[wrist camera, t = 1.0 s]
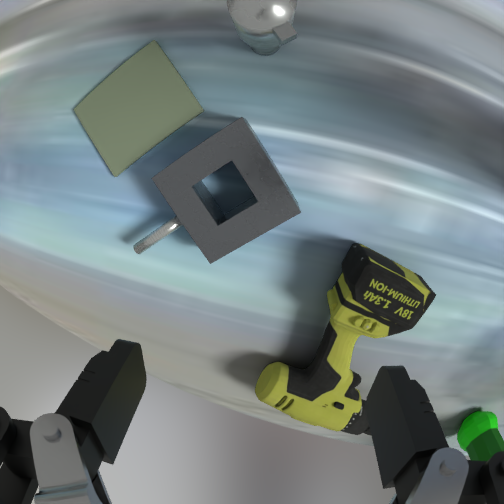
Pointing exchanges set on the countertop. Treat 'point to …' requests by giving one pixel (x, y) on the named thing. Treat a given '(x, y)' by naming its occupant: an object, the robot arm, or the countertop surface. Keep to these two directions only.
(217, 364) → the countertop surface
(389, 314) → the cordless drill
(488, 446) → the plastic bottle
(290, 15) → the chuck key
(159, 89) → the mat
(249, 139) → the block
